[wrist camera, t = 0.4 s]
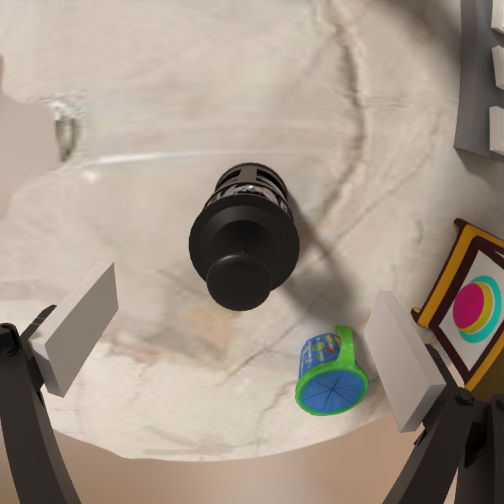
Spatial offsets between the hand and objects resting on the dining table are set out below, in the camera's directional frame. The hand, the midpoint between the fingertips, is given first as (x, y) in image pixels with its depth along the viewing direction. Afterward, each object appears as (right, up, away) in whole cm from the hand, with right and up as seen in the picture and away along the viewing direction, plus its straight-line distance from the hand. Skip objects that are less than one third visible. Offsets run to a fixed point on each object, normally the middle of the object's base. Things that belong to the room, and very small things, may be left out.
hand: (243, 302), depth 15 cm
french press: (0, +9, +27) cm, 28 cm away
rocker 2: (+34, +26, +11) cm, 45 cm away
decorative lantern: (+36, -2, +30) cm, 47 cm away
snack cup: (+12, -14, +36) cm, 40 cm away
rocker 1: (+35, +35, +8) cm, 50 cm away
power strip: (+35, +31, +16) cm, 49 cm away
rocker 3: (+33, +18, +15) cm, 41 cm away
